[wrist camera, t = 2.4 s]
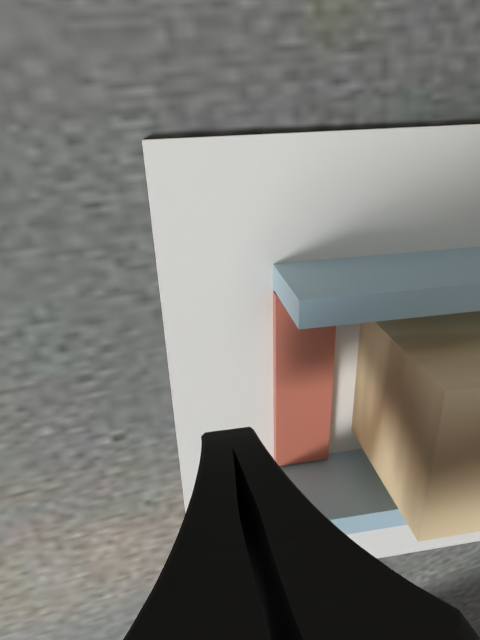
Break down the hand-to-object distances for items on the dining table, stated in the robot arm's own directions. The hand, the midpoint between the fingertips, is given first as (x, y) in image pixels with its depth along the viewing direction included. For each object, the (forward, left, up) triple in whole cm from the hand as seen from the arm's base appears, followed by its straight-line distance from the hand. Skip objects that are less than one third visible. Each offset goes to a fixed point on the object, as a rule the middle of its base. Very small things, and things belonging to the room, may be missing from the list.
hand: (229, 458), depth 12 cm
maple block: (0, -8, -4) cm, 8 cm away
